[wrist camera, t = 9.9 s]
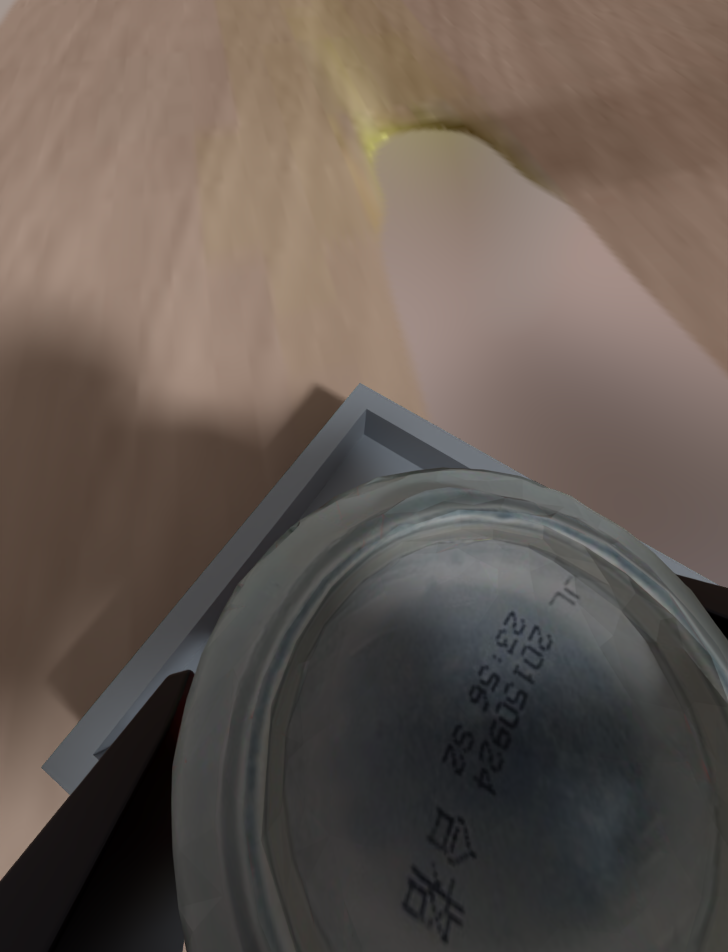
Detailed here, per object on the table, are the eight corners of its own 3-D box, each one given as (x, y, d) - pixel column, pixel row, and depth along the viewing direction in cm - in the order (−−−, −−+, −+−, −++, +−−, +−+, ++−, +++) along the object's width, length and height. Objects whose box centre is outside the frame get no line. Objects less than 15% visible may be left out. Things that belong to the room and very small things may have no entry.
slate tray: (677, 606, 18) (740, 597, 15) (528, 1134, 11) (588, 1288, 8) (357, 419, 21) (359, 382, 18) (98, 746, 14) (41, 767, 12)
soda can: (248, 741, 14) (-91, 1072, 3) (337, 559, 17) (347, 362, 6) (436, 844, 13) (1026, 1895, 2) (495, 634, 16) (868, 575, 5)
